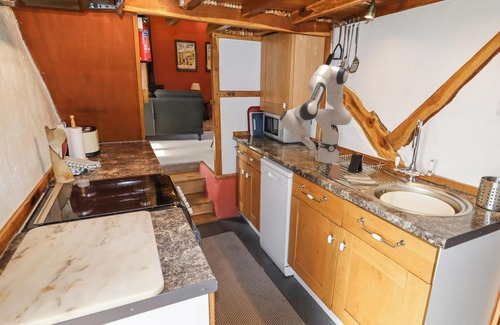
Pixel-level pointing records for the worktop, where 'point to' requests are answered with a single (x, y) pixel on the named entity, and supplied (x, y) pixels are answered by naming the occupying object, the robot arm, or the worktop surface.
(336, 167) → the terracotta block
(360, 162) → the door stopper
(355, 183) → the ash board
